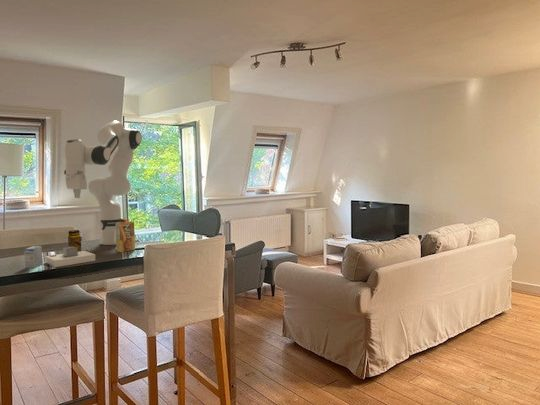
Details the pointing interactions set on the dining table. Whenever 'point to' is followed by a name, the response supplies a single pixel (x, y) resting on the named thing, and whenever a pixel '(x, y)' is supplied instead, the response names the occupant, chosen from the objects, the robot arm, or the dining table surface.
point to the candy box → (125, 236)
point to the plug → (70, 252)
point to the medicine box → (33, 256)
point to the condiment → (74, 239)
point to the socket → (70, 259)
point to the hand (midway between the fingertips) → (77, 198)
